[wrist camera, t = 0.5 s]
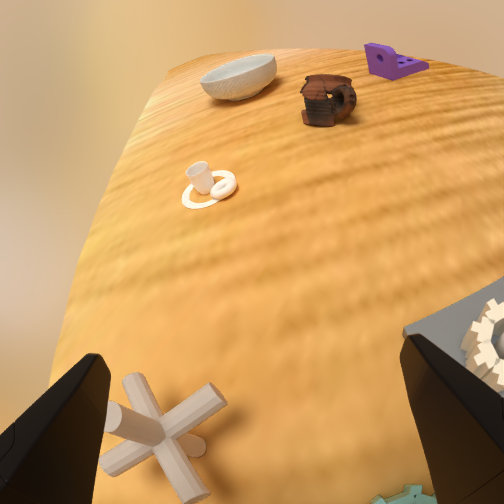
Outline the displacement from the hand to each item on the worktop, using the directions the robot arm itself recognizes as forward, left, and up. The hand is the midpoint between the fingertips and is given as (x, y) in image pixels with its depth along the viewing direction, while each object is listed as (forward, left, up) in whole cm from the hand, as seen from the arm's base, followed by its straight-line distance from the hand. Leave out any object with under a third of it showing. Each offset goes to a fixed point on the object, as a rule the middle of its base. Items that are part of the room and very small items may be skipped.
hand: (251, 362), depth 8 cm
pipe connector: (+1, +9, -15) cm, 18 cm away
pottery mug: (+41, -16, -15) cm, 47 cm away
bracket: (+54, -38, -15) cm, 68 cm away
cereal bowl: (+66, -6, -15) cm, 68 cm away
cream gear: (0, -14, -14) cm, 19 cm away
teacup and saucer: (+30, +6, -16) cm, 34 cm away
